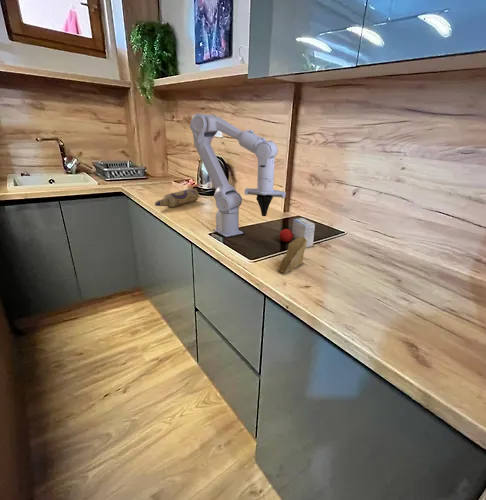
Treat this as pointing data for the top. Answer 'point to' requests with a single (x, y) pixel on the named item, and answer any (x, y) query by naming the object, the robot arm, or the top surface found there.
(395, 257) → the top surface
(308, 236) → the medicine box
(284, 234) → the ball
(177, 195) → the decorative bottle
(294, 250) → the rock
